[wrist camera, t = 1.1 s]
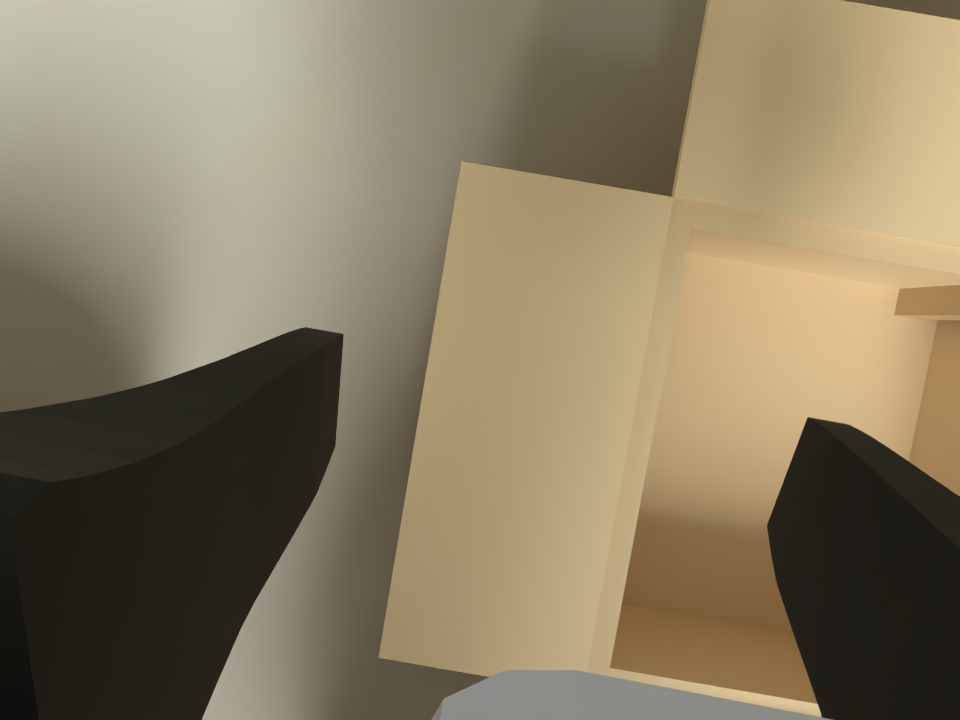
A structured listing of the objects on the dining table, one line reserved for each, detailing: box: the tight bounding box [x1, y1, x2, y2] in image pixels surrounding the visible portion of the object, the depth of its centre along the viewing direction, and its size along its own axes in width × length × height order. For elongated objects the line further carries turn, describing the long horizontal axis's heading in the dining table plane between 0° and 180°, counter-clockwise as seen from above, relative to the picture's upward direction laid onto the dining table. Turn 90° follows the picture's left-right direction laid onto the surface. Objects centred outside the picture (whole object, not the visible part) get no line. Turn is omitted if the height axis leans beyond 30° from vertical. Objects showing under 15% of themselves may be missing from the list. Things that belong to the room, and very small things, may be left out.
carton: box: [378, 0, 960, 717], centre depth 20 cm, size 22×15×8 cm
